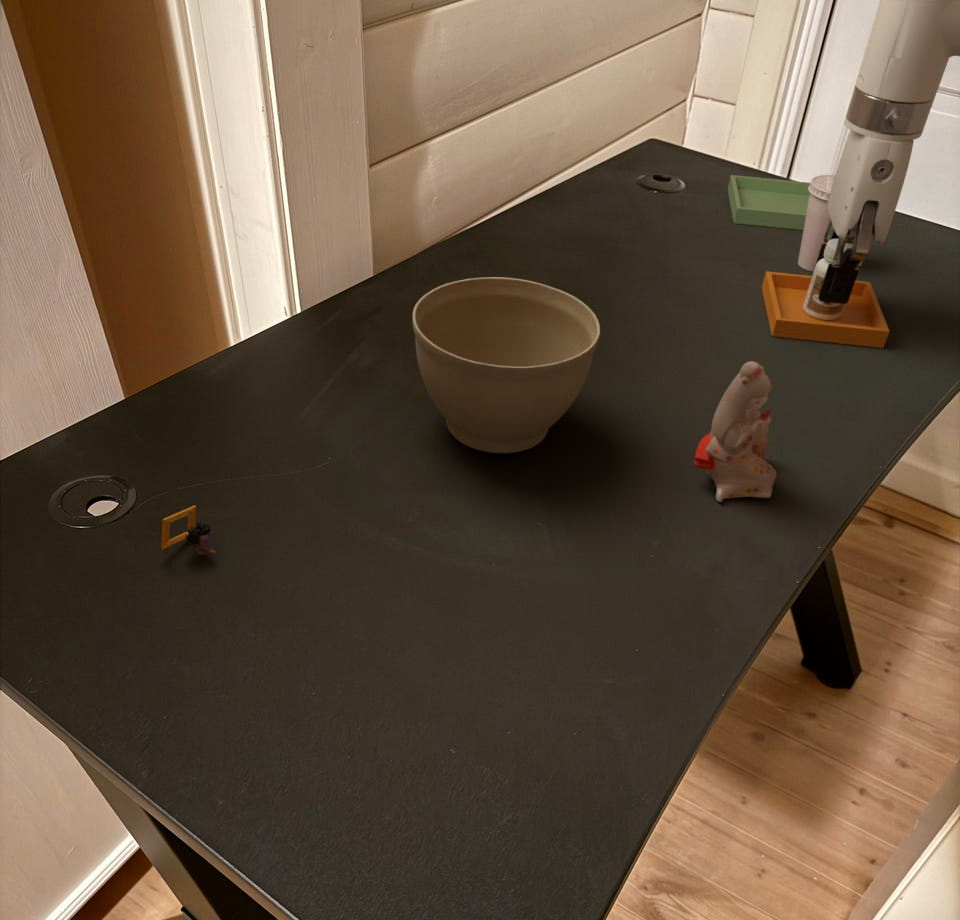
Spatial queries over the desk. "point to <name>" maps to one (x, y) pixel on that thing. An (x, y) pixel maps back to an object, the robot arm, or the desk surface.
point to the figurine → (739, 438)
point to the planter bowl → (503, 358)
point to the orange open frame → (188, 532)
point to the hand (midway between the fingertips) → (829, 289)
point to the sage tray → (768, 202)
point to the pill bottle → (812, 301)
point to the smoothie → (815, 221)
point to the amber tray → (791, 321)
